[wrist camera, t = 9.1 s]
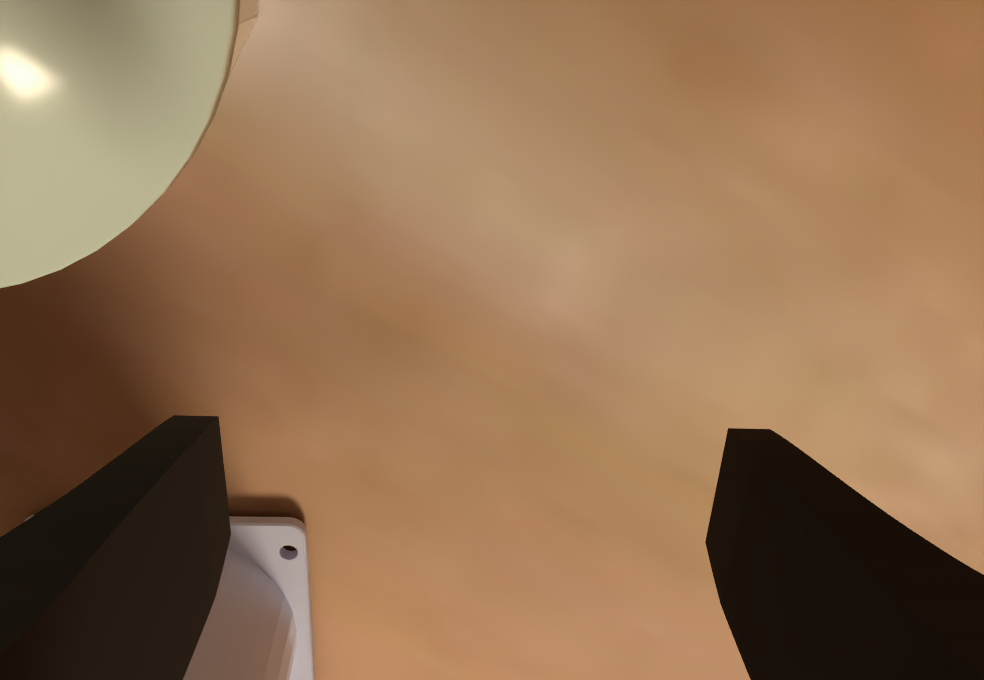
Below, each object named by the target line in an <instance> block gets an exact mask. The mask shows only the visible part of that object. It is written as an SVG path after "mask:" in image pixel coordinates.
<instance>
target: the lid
mask: <svg viewBox="0 0 984 680" xmlns="http://www.w3.org/2000/svg"><path fill="white" fill-rule="evenodd" d="M239 12H240V0H0V288H3V287H8V286H13V285H18V284H22V283H25V282H28V281H30V280H33V279H36V278H39V277H42V276H44V275H47V274H50V273H53V272H56V271H58V270H61V269H63V268H65V267H67V266H69V265H71V264H72V263H74V262H76V261H78V260H80V259H82V258H84V257H86V256H88V255H89V254H91V253H93V252H95V251H97V250H98V249H100V248H101V247H102V246H104V245H105V244H106V243H108V242H109V241H110V240H112V239H113V238H115V237H116V236H117V235H119V234H120V233H121V232H123V231H124V230H125V229H127V228H128V227H129V226H131V225H132V224H133V223H134V222H135V221H136V220H137V219H138V218H139V217H140V216H141V215H142V214H143V213H144V212H145V211H146V210H147V209H148V208H149V207H150V206H151V205H152V204H153V203H154V202H155V201H156V200H157V199H158V198H159V197H160V196H161V195H162V194H163V193H164V192H165V191H166V190H167V189H168V188H169V187H170V186H171V185H172V184H173V183H174V181H175V180H176V178H177V177H178V176H179V174H180V173H181V172H182V170H183V169H184V168H185V166H186V165H187V163H188V162H189V161H190V159H191V158H192V157H193V155H194V154H195V152H196V150H197V148H198V147H199V145H200V143H201V141H202V139H203V137H204V135H205V133H206V131H207V129H208V127H209V126H210V124H211V122H212V120H213V118H214V116H215V113H216V110H217V108H218V105H219V102H220V99H221V96H222V93H223V90H224V88H225V85H226V82H227V79H228V76H229V73H230V68H231V63H232V58H233V53H234V48H235V43H236V38H237V33H238V27H239Z"/></svg>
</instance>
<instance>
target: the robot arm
mask: <svg viewBox="0 0 984 680" xmlns="http://www.w3.org/2000/svg"><path fill="white" fill-rule="evenodd" d="M287 545H289V546H293V547H295V548H296V549H297V550H295V551H288V550H286V549H285V548H283V546H287ZM706 546H707V551H708V555H709V559H710V564H711V568H712V572H713V576H714V580H715V584H716V588H717V592H718V595H719V599H720V603H721V606H722V609H723V611H724V614H725V616H726V619H727V622H728V624H729V627H730V629H731V632H732V634H733V637H734V639H735V642H736V644H737V647H738V649H739V652H740V654H741V657H742V659H743V662H744V664H745V667H746V669H747V672H748V674H749V677H750V679H751V680H984V575H983V574H981V573H979V572H977V571H976V570H974V569H972V568H970V567H969V566H967V565H965V564H964V563H962V562H960V561H959V560H957V559H955V558H954V557H952V556H951V555H949V554H947V553H946V552H944V551H943V550H941V549H940V548H938V547H937V546H935V545H933V544H932V543H930V542H929V541H927V540H926V539H924V538H923V537H921V536H920V535H918V534H917V533H915V532H913V531H912V530H910V529H909V528H907V527H906V526H904V525H903V524H902V523H900V522H899V521H897V520H896V519H894V518H893V517H891V516H890V515H888V514H887V513H886V512H884V511H883V510H881V509H880V508H879V507H877V506H876V505H874V504H873V503H872V502H870V501H869V500H867V499H866V498H865V497H863V496H862V495H861V494H859V493H858V492H856V491H855V490H854V489H852V488H851V487H850V486H848V485H847V484H846V483H844V482H843V481H842V480H840V479H839V478H837V477H836V476H835V475H833V474H832V473H831V472H829V471H828V470H827V469H825V468H824V467H823V466H821V465H820V464H819V463H817V462H816V461H815V460H813V459H812V458H811V457H809V456H808V455H807V454H805V453H804V452H803V451H801V450H800V449H799V448H797V447H796V446H794V445H793V444H792V443H790V442H789V441H787V440H786V439H784V438H783V437H781V436H780V435H778V434H777V433H775V432H774V431H772V430H770V429H733V428H728V432H727V437H726V442H725V447H724V452H723V457H722V462H721V467H720V472H719V477H718V482H717V487H716V492H715V497H714V502H713V507H712V512H711V517H710V522H709V527H708V532H707V537H706ZM0 680H315V666H314V647H313V629H312V611H311V592H310V574H309V556H308V537H307V529H306V526H305V525H304V524H303V522H302V521H300V520H298V519H296V518H291V517H238V516H229V510H228V501H227V492H226V482H225V473H224V464H223V455H222V445H221V436H220V427H219V417H218V416H175V415H174V416H173V417H171V418H169V419H168V420H166V421H165V422H163V423H162V424H161V425H159V426H158V427H157V428H155V429H154V430H152V431H151V432H150V433H148V434H147V435H146V436H144V437H143V438H142V439H140V440H139V441H138V442H136V443H135V444H134V445H132V446H131V447H130V448H128V449H127V450H126V451H125V452H123V453H122V454H121V455H119V456H118V457H117V458H115V459H114V460H112V461H111V462H110V463H108V464H107V465H106V466H104V467H103V468H102V469H100V470H99V471H97V472H96V473H95V474H93V475H92V476H91V477H89V478H88V479H87V480H85V481H84V482H83V483H81V484H80V485H78V486H77V487H76V488H74V489H73V490H71V491H70V492H69V493H67V494H66V495H64V496H63V497H61V498H60V499H58V500H57V501H55V502H54V503H52V504H51V505H49V506H48V507H46V508H45V509H43V510H42V511H40V512H39V513H37V514H36V515H31V516H29V517H27V518H26V519H25V520H24V522H23V523H22V524H20V525H19V526H17V527H16V528H14V529H13V530H11V531H10V532H8V533H7V534H5V535H3V536H2V537H0Z"/></svg>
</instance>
